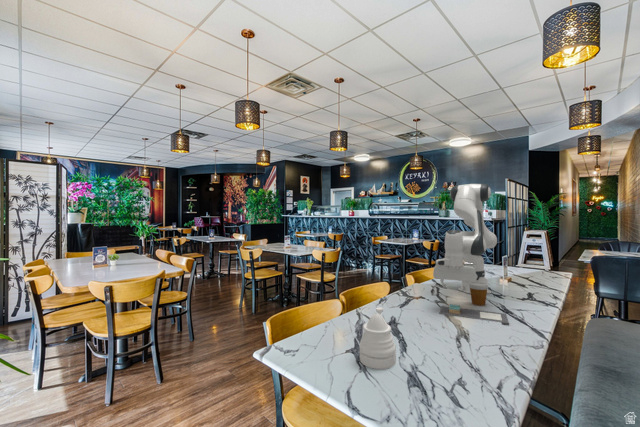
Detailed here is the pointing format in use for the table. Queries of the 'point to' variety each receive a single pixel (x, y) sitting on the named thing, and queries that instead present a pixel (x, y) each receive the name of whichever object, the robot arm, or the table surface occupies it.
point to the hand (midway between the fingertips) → (454, 288)
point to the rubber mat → (477, 315)
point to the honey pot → (377, 343)
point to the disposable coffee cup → (478, 293)
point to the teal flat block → (454, 309)
